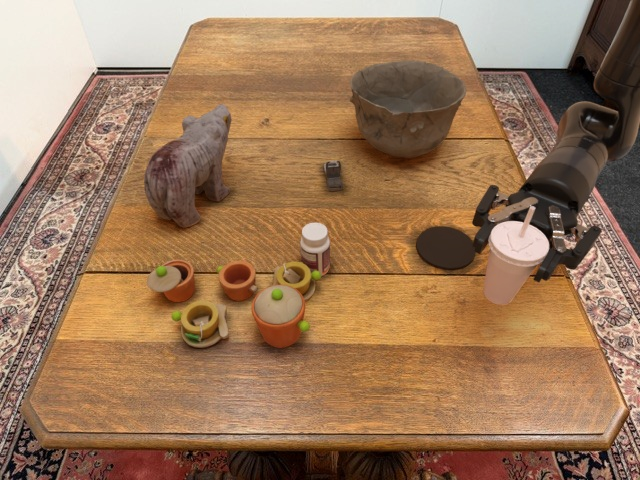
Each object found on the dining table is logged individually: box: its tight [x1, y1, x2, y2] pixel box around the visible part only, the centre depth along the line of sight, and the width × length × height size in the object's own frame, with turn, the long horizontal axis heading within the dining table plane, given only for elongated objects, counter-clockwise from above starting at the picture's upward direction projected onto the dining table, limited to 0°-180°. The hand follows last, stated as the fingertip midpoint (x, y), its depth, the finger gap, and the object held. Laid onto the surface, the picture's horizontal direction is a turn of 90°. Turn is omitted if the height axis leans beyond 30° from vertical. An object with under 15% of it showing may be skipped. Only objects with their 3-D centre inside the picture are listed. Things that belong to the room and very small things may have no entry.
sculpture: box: [143, 103, 232, 229], centre depth 86 cm, size 12×21×15 cm, turn 175°
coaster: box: [415, 225, 477, 271], centre depth 81 cm, size 10×10×1 cm
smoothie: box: [482, 206, 549, 306], centre depth 55 cm, size 6×6×14 cm
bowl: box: [349, 59, 467, 159], centre depth 98 cm, size 22×22×15 cm
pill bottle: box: [299, 222, 331, 277], centre depth 76 cm, size 5×5×8 cm
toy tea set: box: [146, 259, 322, 349], centre depth 69 cm, size 26×16×10 cm, turn 90°
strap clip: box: [323, 160, 344, 192], centre depth 94 cm, size 8×3×4 cm, turn 7°
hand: (507, 261), depth 53 cm, fingers closed on smoothie, 6 cm apart
